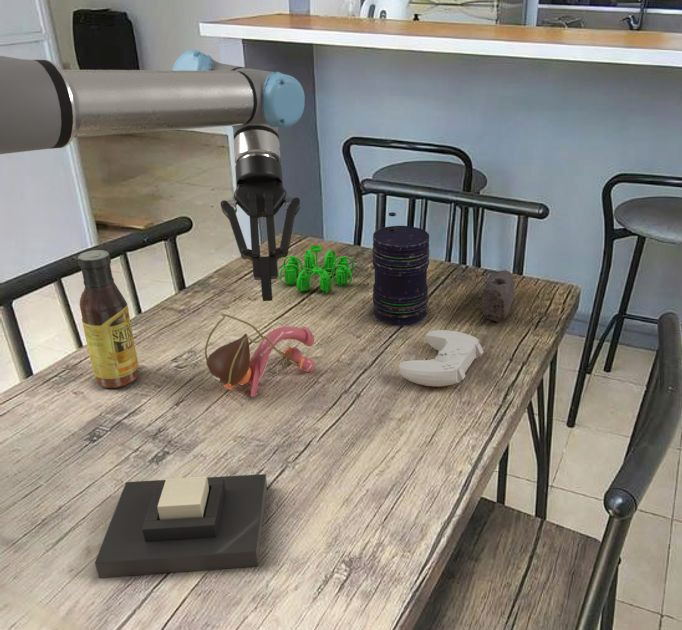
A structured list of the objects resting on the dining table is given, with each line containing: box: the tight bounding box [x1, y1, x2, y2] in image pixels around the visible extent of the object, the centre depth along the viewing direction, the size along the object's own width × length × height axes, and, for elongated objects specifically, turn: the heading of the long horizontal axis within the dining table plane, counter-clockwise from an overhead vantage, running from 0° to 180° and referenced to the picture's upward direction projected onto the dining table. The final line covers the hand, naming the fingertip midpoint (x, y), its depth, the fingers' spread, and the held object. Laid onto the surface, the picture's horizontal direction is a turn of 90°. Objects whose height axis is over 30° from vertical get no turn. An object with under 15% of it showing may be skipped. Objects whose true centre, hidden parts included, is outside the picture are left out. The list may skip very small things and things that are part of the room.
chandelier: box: [278, 245, 355, 294], centre depth 133 cm, size 15×15×7 cm
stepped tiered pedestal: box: [94, 473, 268, 579], centre depth 75 cm, size 16×12×4 cm
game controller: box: [398, 329, 484, 387], centre depth 106 cm, size 14×4×10 cm
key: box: [157, 475, 209, 520], centre depth 74 cm, size 4×4×2 cm
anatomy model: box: [204, 313, 316, 398], centre depth 101 cm, size 10×14×15 cm
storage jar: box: [372, 211, 430, 327], centre depth 119 cm, size 10×10×18 cm
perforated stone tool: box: [480, 269, 515, 323], centre depth 124 cm, size 15×5×7 cm, turn 164°
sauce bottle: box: [77, 249, 139, 389], centre depth 97 cm, size 6×6×20 cm
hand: (267, 298), depth 107 cm, fingers closed
